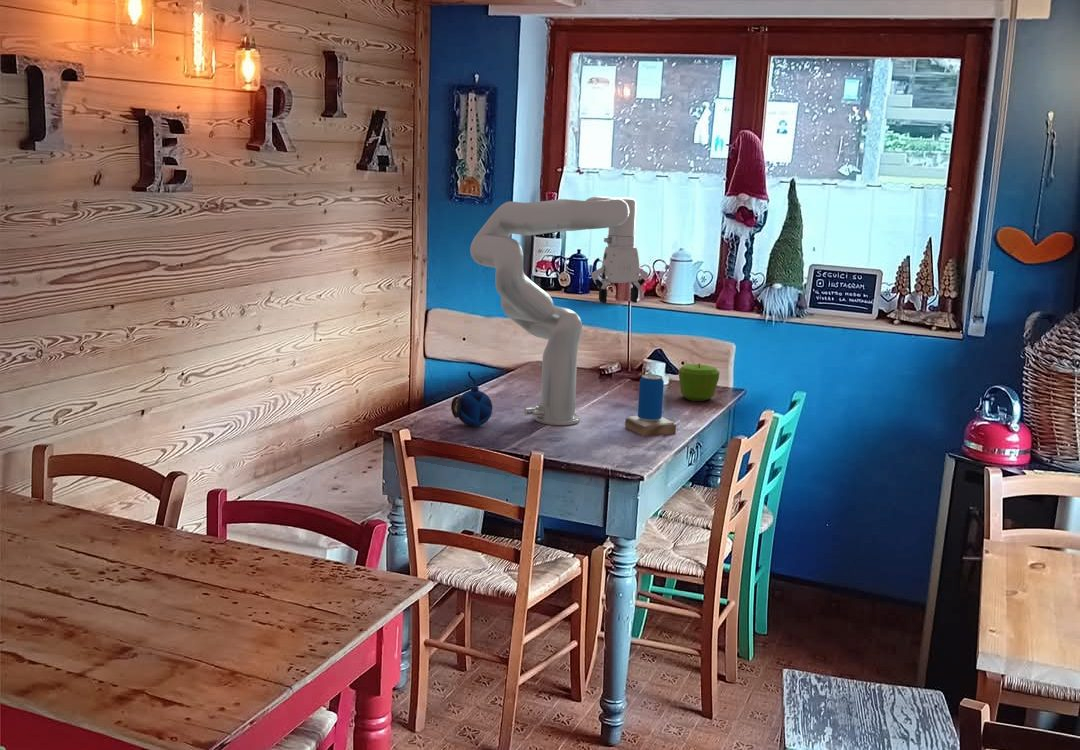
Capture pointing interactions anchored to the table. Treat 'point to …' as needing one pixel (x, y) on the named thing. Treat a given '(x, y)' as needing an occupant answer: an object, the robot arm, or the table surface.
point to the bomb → (472, 406)
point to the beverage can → (650, 398)
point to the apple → (698, 381)
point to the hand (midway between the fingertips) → (618, 302)
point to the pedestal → (650, 426)
